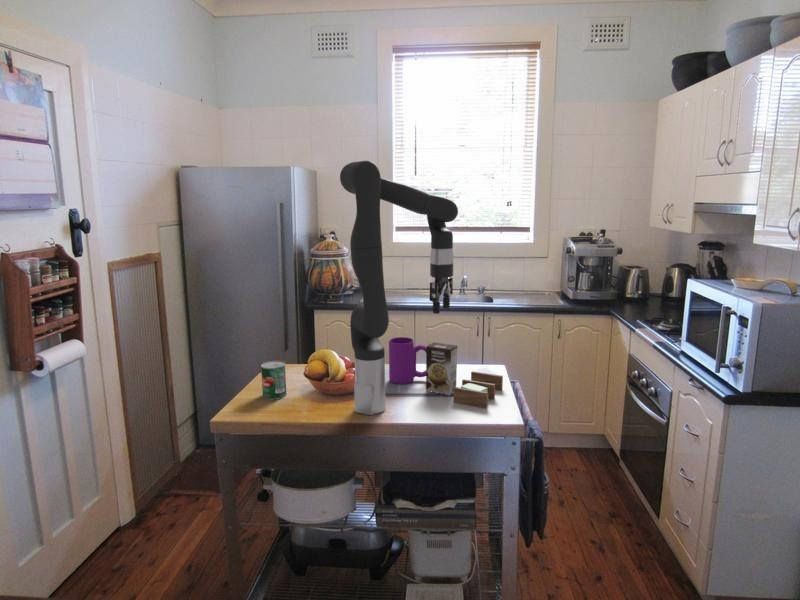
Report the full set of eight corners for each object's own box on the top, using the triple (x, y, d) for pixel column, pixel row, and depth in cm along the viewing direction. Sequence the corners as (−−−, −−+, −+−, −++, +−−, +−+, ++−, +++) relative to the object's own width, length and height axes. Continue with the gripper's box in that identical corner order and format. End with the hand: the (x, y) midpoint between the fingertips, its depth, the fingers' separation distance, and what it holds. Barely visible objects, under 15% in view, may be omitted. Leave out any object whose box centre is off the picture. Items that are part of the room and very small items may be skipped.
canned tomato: (258, 398, 174) (255, 366, 172) (270, 390, 182) (268, 359, 180) (279, 401, 172) (277, 369, 170) (291, 392, 179) (289, 361, 177)
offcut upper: (479, 399, 167) (479, 391, 166) (460, 393, 171) (460, 386, 171) (487, 395, 170) (487, 387, 169) (469, 389, 175) (469, 382, 174)
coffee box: (425, 391, 179) (425, 346, 176) (432, 385, 184) (433, 341, 181) (450, 396, 175) (450, 349, 172) (457, 389, 180) (457, 344, 177)
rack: (486, 408, 164) (486, 393, 163) (453, 402, 169) (453, 387, 168) (502, 389, 180) (502, 375, 179) (471, 384, 185) (472, 371, 184)
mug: (389, 376, 195) (389, 337, 192) (431, 375, 195) (431, 336, 192) (388, 384, 186) (388, 344, 183) (432, 384, 186) (432, 343, 183)
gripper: (439, 259, 179) (439, 305, 182) (422, 264, 167) (422, 313, 170) (460, 260, 176) (459, 307, 179) (444, 265, 163) (443, 316, 166)
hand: (441, 310), depth 174 cm, fingers open, 8 cm apart
